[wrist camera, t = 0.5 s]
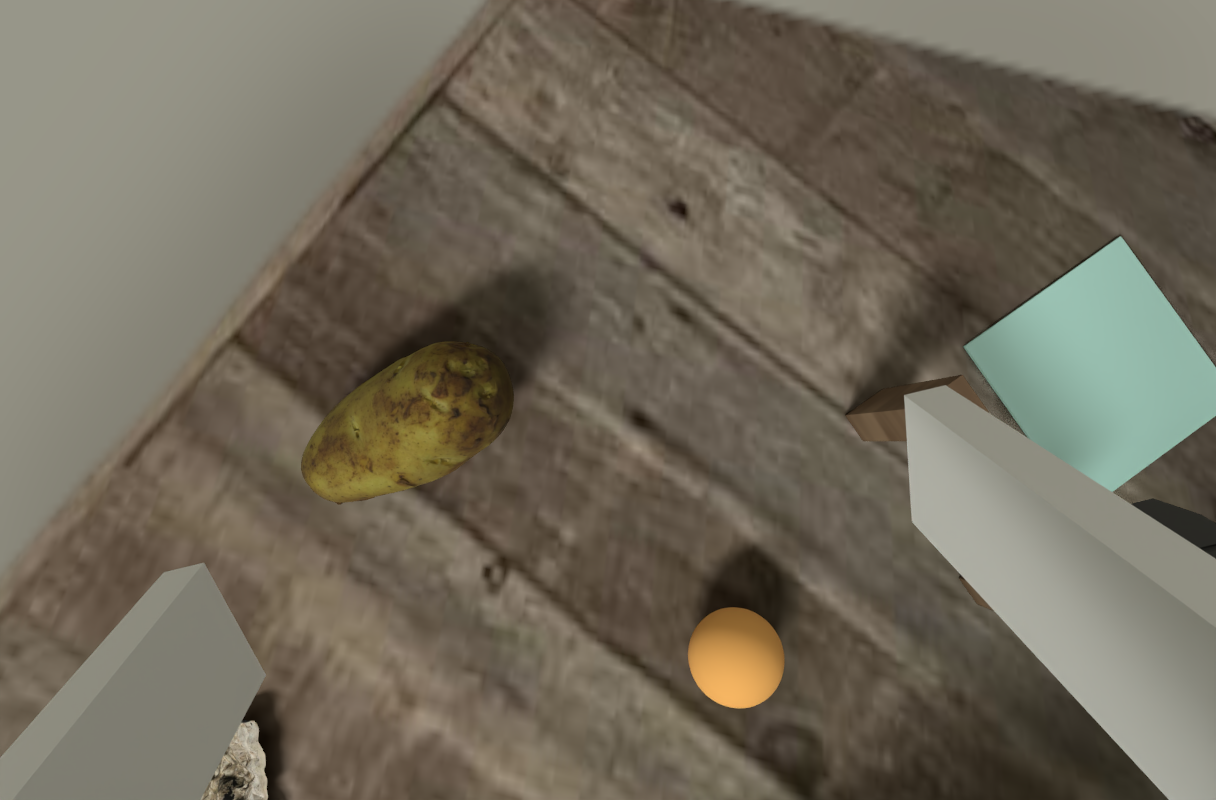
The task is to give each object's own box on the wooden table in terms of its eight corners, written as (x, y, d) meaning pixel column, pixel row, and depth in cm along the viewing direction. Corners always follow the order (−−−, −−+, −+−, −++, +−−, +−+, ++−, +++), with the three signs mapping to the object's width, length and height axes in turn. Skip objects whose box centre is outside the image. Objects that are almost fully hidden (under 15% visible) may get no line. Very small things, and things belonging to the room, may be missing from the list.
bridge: (882, 389, 43) (962, 374, 34) (1014, 576, 43) (1131, 613, 34) (845, 415, 43) (915, 408, 34) (977, 604, 43) (1084, 648, 34)
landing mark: (1235, 399, 44) (1238, 398, 44) (1080, 512, 43) (1083, 513, 43) (1118, 237, 45) (1121, 236, 44) (963, 346, 44) (964, 346, 44)
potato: (310, 371, 42) (247, 355, 34) (515, 345, 43) (499, 323, 35) (325, 504, 42) (264, 519, 34) (532, 476, 42) (519, 483, 34)
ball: (786, 653, 42) (817, 685, 37) (715, 705, 42) (734, 745, 36) (736, 580, 42) (759, 600, 37) (664, 631, 42) (676, 659, 36)
